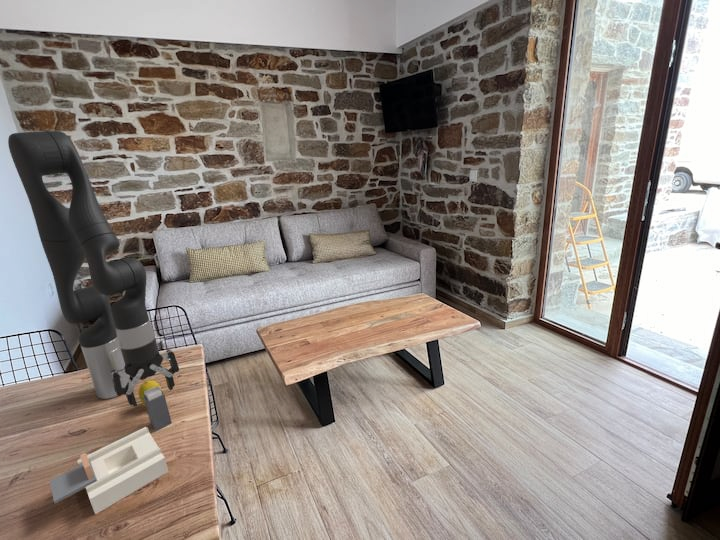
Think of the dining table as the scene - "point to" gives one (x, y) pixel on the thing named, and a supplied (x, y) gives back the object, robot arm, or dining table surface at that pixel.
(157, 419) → the plug
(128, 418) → the dining table surface
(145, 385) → the lemon
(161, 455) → the socket
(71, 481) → the panel
